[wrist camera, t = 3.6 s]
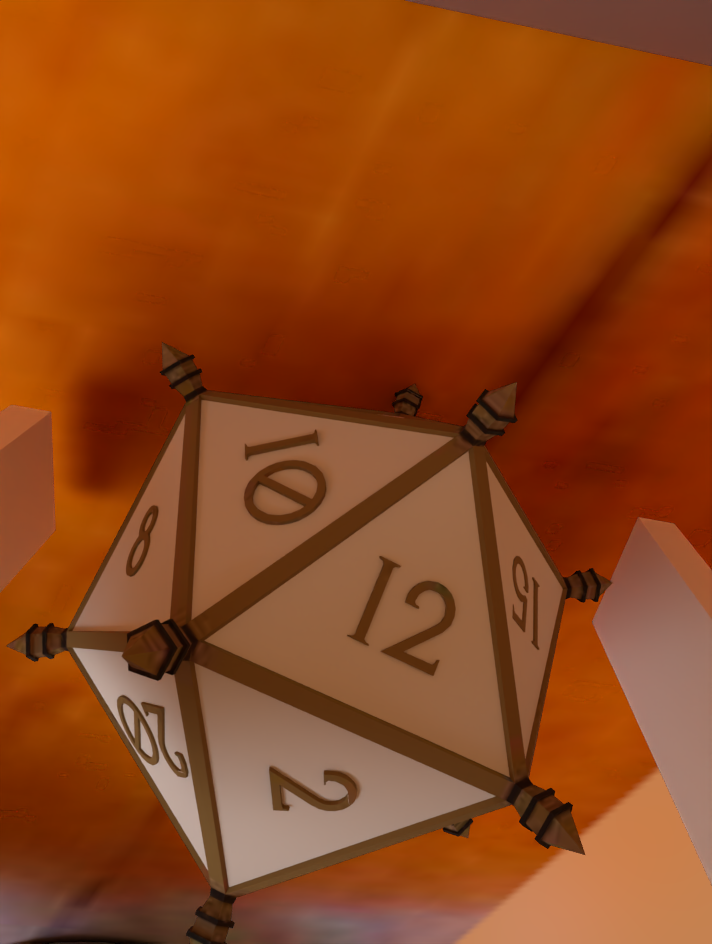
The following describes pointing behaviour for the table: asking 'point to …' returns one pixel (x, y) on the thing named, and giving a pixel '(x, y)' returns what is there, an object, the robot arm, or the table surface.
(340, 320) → the table surface
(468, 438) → the game die
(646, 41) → the gray block
